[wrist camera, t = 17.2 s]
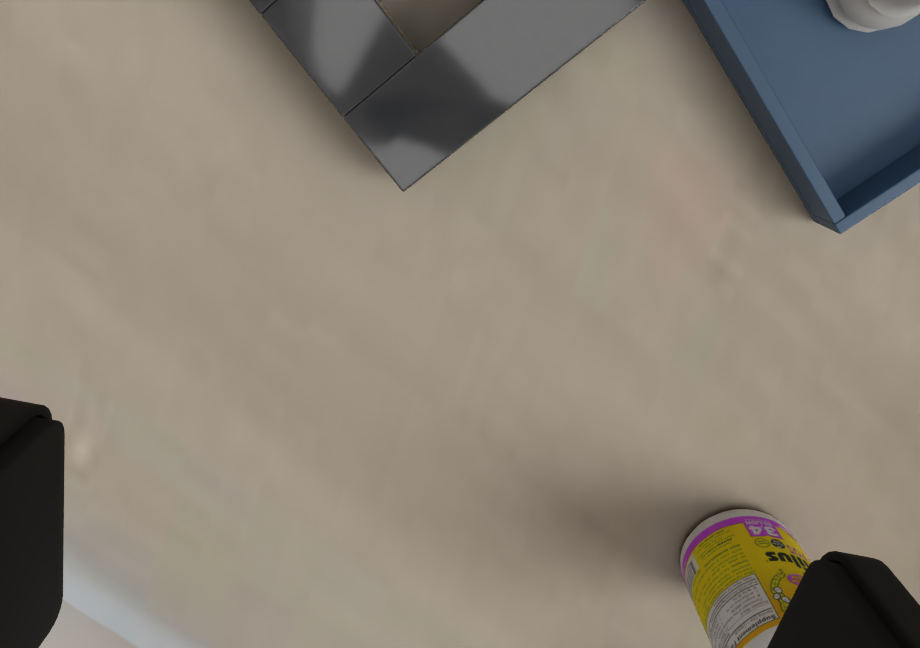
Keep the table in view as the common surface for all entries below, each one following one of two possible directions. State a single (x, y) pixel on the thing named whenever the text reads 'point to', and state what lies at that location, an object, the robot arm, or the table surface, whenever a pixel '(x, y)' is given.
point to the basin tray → (824, 99)
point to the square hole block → (433, 67)
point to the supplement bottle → (741, 576)
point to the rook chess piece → (873, 13)
